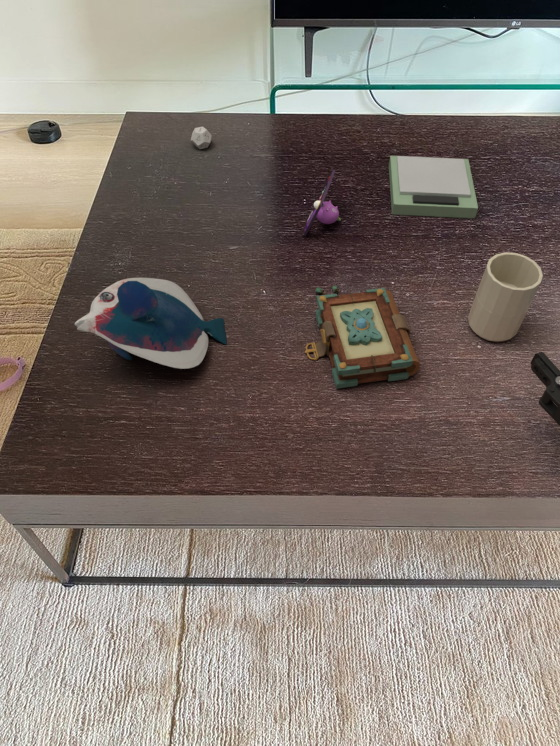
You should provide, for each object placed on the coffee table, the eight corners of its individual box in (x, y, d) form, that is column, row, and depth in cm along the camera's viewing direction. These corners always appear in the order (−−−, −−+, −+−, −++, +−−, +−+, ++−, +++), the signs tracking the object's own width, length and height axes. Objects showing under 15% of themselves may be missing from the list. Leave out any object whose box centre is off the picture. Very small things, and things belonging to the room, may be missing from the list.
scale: (465, 169, 105) (469, 155, 103) (475, 218, 97) (479, 204, 95) (388, 165, 105) (390, 152, 103) (391, 214, 98) (394, 200, 96)
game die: (214, 141, 110) (213, 125, 107) (208, 153, 107) (207, 137, 105) (195, 138, 110) (193, 122, 108) (189, 150, 108) (187, 134, 106)
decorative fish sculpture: (88, 315, 65) (88, 221, 74) (61, 384, 73) (64, 293, 82) (254, 346, 74) (237, 260, 83) (214, 404, 82) (202, 320, 91)
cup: (512, 308, 85) (537, 253, 77) (520, 345, 81) (547, 291, 73) (464, 306, 86) (483, 251, 78) (470, 342, 82) (491, 288, 74)
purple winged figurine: (329, 166, 94) (314, 202, 89) (359, 182, 94) (347, 218, 89) (312, 198, 99) (298, 234, 94) (341, 213, 100) (329, 249, 95)
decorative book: (381, 282, 88) (386, 255, 84) (419, 379, 78) (427, 354, 74) (289, 293, 87) (290, 266, 83) (315, 394, 76) (317, 369, 72)
